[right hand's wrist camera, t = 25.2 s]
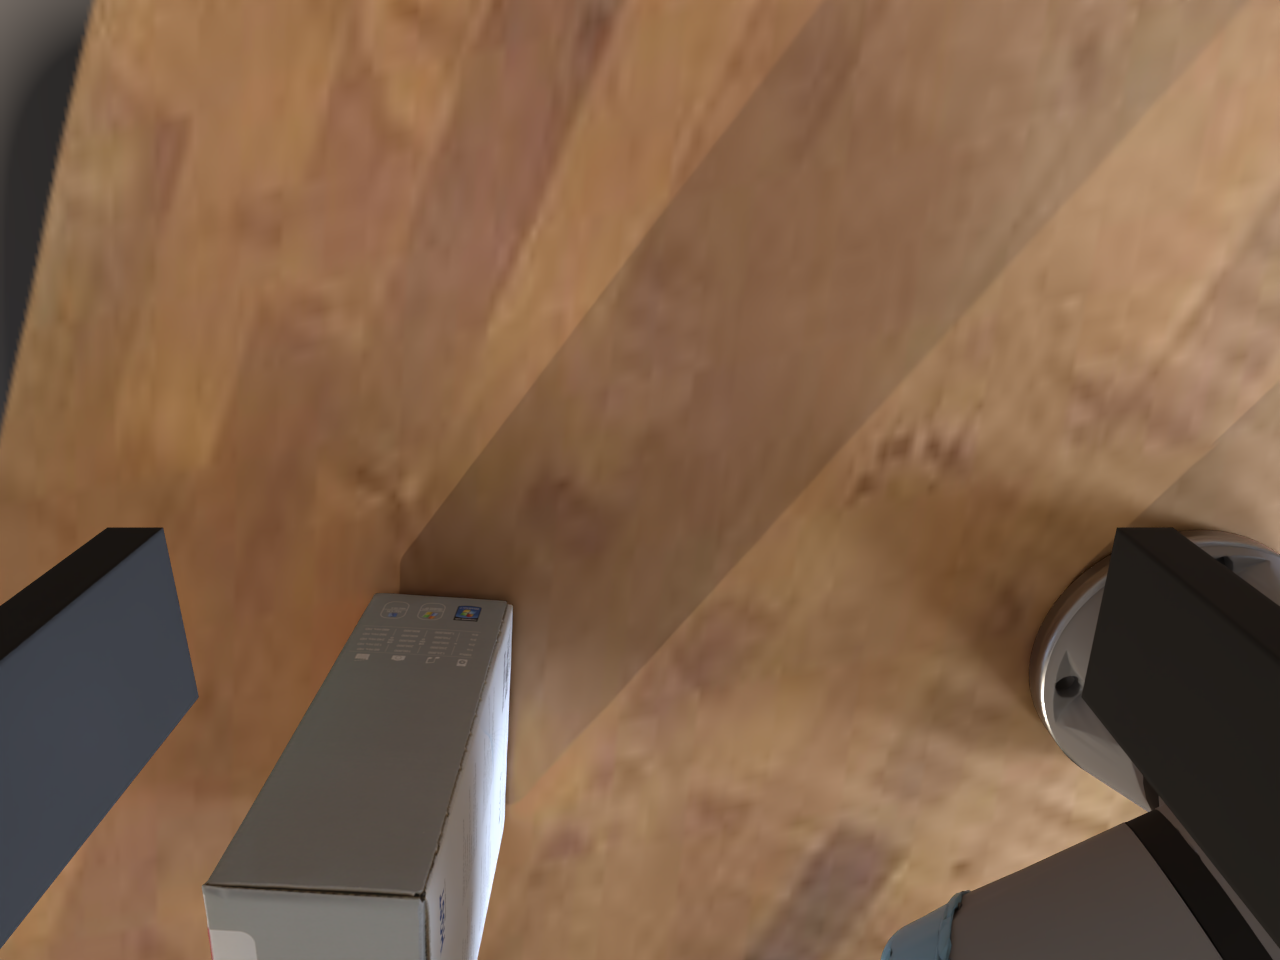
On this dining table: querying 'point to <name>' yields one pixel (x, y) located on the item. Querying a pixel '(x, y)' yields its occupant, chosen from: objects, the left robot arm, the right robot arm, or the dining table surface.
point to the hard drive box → (380, 798)
